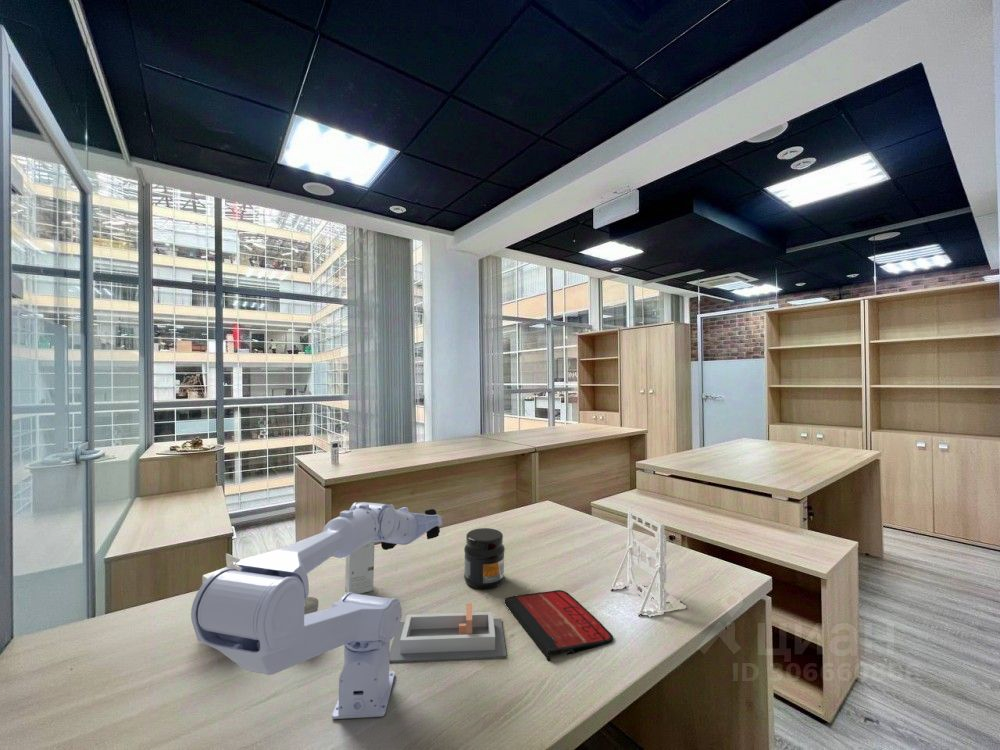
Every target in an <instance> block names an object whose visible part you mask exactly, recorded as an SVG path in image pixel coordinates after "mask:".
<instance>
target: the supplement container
mask: <svg viewBox="0 0 1000 750" xmlns="http://www.w3.org/2000/svg"><path fill="white" fill-rule="evenodd" d="M465 537H466V543H465V545H464V549H463V550H464V573H463V577H464V581H465V582H466V584H467V585H469V586H470V587H472V588H474V589H480V590H489V588H490V589H494V588H496V587H498V586H499V585H501V584H502V582H504V579H505V550H506V548H505V545H504V535H503V533H502V531H500V530H498V529H494V528H489V527H488V528H487V527H484V528H483V527H479V528H474V529H471V530H470V531H468V532H467V533H466V536H465ZM493 587H494V588H493Z"/></svg>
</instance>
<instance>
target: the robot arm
mask: <svg viewBox="0 0 1000 750" xmlns="http://www.w3.org/2000/svg"><path fill="white" fill-rule="evenodd" d="M442 520H443V519H442V515H441V514H438V513H437V510H436V509H435V508H434V509H433V508H430V509H426V510H424V513H416V512H410V511H409V507H406V506H404V507H400V508H398V509H396V508H395V506H394V505H393V503H391V504H387V503H377V502H366V501H365V502H364V501H361V502H357V501H356V502H354V503H352V505H351V506H350V508H349V510H347V509H346V510H342V511H340V512H339V516H337V517H335V518H332V519H331V520H329V521H328V522H327V523H326V524H325V525H324V527H323V529H322V532H320V533H317V534H315V535H312V536H309V537H307V538H304V539H301V540H298V541H295V542H293V543H290V544H288V545H285V546H283V547H280V548H277V549H275V550H272V551H271V550H270V551H267V552H264V553H259V554H256V555H253V556H252V555H251V556H248V557H245V558H243V559H240V561H239V562H237V563H236V562H235V563H234V565H236V566H238V567H239V566H240V567H241V568H242V569H241V570H240V571H238V570H236V569H233V568H225V567H224V568H225V569H222V568H220V569H221V570H219V569H218V570H219V571H217V572H215V573H214V574H213V575H211V576H210V577H209V578H208V579H207V580H206V581H205V582H204V583H203V585H201V586H200V587H199V589H198V591H197V592H196V593H195V597H194V599H193V601H192V606H191V610H190V618H191V623H192V626H193V629H194V633H195V637H196V640H197V641H198V642H200V643H202V644H204V645H206V646H209V647H211V648H213V649H215V650H217V651H218V652H220V653H221V654H222V655H224V656H226V658H228V659H230V660H231V661H232V662H234V663H235V664H236V665H238V666H239V667H241V669H243V670H245V671H247V672H250V673H255V674H260V675H261V674H262V675H266V676H271V675H275V674H277V673H280V672H282V671H284V670H287V669H290V668H291V667H294V666H296V665H299V664H301V663H304V662H306V661H309V660H311V659H313V658H316V657H318V656H320V655H323V654H325V653H327V652H330V651H333V650H335V649H338V648H340V647H341V646H344V651H343V652H344V656H343V657H344V659H343V660H344V661H343V666H342V669H341V672H340V674H339V676H338V677H339V678H338V699H337V702H336V704H335V706H334V709H333V711H332V713H331V718H332V719H333V720H338V719H340V720H341V719H342V720H343V719H355V718H357V719H358V718H359V719H361V718H374V717H375V718H376V717H377V718H378V717H379V718H380V717H384V716H385V714H386V711H387V707H388V703H389V700H390V695H391V692H392V688H393V682H394V679H395V676H396V671H394V670H390V663H389V659H390V649H391V646H390V644H391V640H392V639H394V636H395V634H396V632H397V630H398V628H399V625H400V622H402V621H401V620H402V614H403V613H402V605H401V603H400V600H399V599H398V598H396V597H392V598H389V597H381V596H374V595H367V594H362V593H361V594H355V593H353V592H348V593H347V592H346V593H345V594H343V595H342V596H341V598H339V600H335V601H333V602H332V603H331V604H332V605H331V607H329V608H326V609H322V610H321V609H320V610H318V611H317V612H313V613H309V614H305V615H304V603H305V599H306V598H307V597H309V592H310V591H309V590H310V589H309V588H310V587H309V577H308V574H309V573H310V572H312V571H313V570H314V569H316V568H318V567H319V566H321V565H322V564H323V563H324V562H326V561H327V560H328V559H330V558H331V557H334V558H337V559H342V558H346V556H348V555H349V554H351V553H353V552H354V551H356V550H357V549H359V548H361V547H362V546H364V545H366V544H367V543H369V542H374V543H379V542H380V545H381V549H382V550H384V551H388V550H391V549H394V548H395V547H396V546H397V545H399V546H400V545H401V546H406V545H410V544H411V543H413V542H415V541H416V540H418V539H419V538H420V537H422V536H423V535H425V534H426V539H427V540H431V539H435V538H437V537H439V536H440V532H441V529H440V528H441V527H442V526H443V521H442Z"/></svg>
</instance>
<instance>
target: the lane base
mask: <svg viewBox="0 0 1000 750" xmlns="http://www.w3.org/2000/svg"><path fill="white" fill-rule="evenodd" d="M464 623H466V612H450V613H447V612H446V613H445V612H443V613H418V614H414V613H413V614H406V617H405V620H404V621H400V625H399V628H398V630H397V632H396V634H395V636H394V637H393V638H392V639H393V640H392V643H391V646H390V659H389V664H390V663H411V662H412V663H413V662H435V661H438V662H439V661H458V660H479V659H480V660H482V659H483V660H484V659H485V660H486V659H504V658H506V659H507V651H506V645H505V643H506V642H505V637H504V636H505V635H504V629H503V622H502V618H494V612H493V611H479V612H476V611H475V612H473V611H472V634H469V635H459V624H464Z"/></svg>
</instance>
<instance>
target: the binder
mask: <svg viewBox="0 0 1000 750" xmlns="http://www.w3.org/2000/svg"><path fill="white" fill-rule="evenodd" d="M505 604H506V605H505ZM504 605H505V606H507V607H508V608H509V609H508V608H507V607H506V608H507V609H508V611H509V610H510V611H511V612H510V611H509V612H510V613H511V615H512V614H513V615H512V616H513V617H514V618H515V619H516V621H517V622H518V624H519V625H520V626H521V628H522V629H523V630H524V632H525V633H526V634H527V635H528V637H529V638H530V639H531V640H532V642H533V643H534V644H535V646H536V647H537V649H538V650H539V651H540V653H541V654H543V656H544V657H545V659H546V660H547V662H550V661H551V659H550V653H553V652H554V653H557V654H559V653H562V652H565V651H569V652H566V656H568V655H573V654H577V653H581V652H585V651H588V650H593V649H596V648H599V647H601V646H604V645H609V644H611V643H612V642H613V641H614V640H613V639H614V636H613V634H612V633H611V632H610V631H609V630H608V629H607V628H606V627H605V626H604V625H603V624H602V622H600V620H598V619H597V618H596V617H595V616H594V615H593V614H592V613H591V612H590V611H589V610H588V609H587V608H586V607H584V606H583V605H582V603H580V602H579V601H578V600H577V599H576V598H574V597H573V596H572V595H571V594H570V593H568V592H567V591H565V590H561V589H558V590H557V589H556V590H555V589H554V590H550V591H541V592H533V593H525V594H519V595H512V596H506V597H505V598H504Z"/></svg>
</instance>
